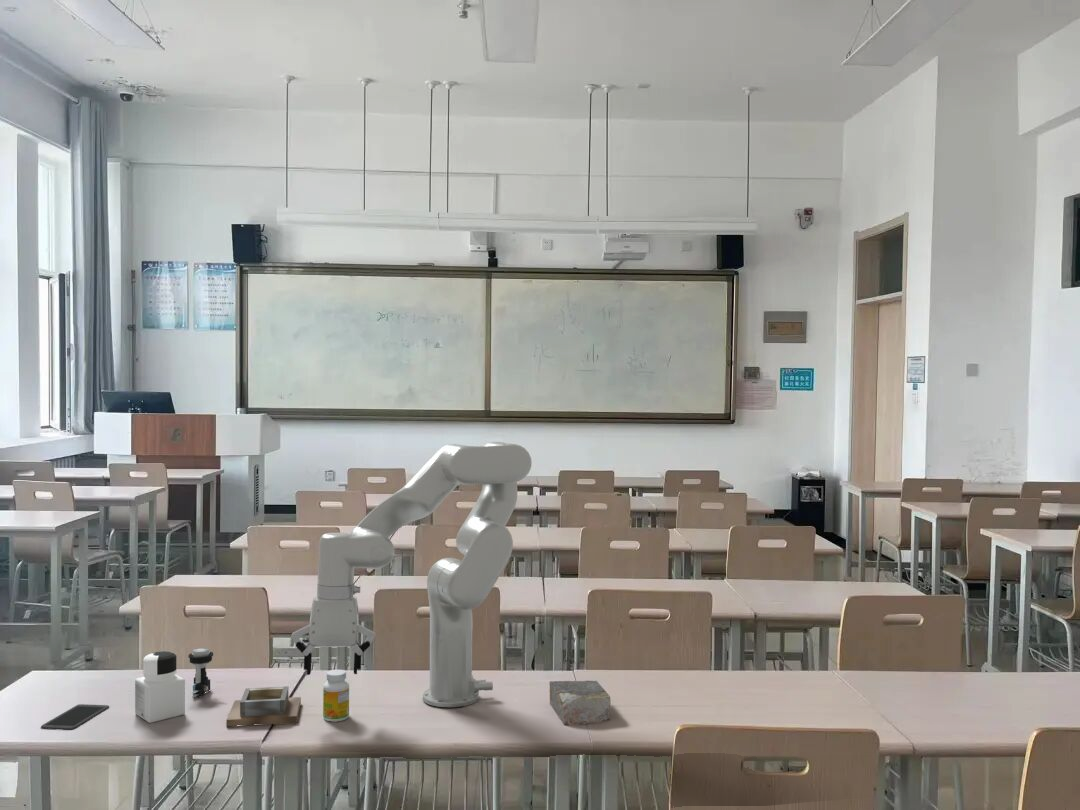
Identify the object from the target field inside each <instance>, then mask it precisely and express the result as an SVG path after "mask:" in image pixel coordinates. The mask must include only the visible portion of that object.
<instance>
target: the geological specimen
mask: <svg viewBox="0 0 1080 810" xmlns="http://www.w3.org/2000/svg"><path fill="white" fill-rule="evenodd" d="M548 691H549V705H550V706H551V708H552V709H553V710H554V712H555V714H556V715H557V716H558V719H559V720H560V721H561V723H562V724H563V726H579V725H580V726H581V725H582V726H584V725H585V726H586V725H592V724H593V725H594V724H597V723H601V722H606V721H611V715H610V709H611V696H610V694H609V693H608V692H607V691H606V690H605V688H604V687H603V686H602V684H600V683H599V681H598V680H554V681H553V680H550V681H549V690H548Z"/></svg>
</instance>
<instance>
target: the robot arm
mask: <svg viewBox="0 0 1080 810" xmlns="http://www.w3.org/2000/svg"><path fill="white" fill-rule="evenodd" d="M531 469H532V457H531V454H530V453H529V451H528V450H527V449H526V448H525V447H524V446H522V445H519V444H517V443H509V442H508V443H507V442H504V441H503V442H501V441H492V442H491V441H490V442H487V443H486V444H484V445H483V446H482V445H480V446H479V445H478V446H477V445H476V446H473V445H463V444H456V443H451V444H450V443H448V444H446V445H443V446H442V447H441V448H440V449H438V450H437V451H436V452H435V454H434V453H433V455H432V457H430V459H428V461H427V462H426V463H424V465H423V466H422V467H421V468H420V469H419V470H418V471H417V472H416V473H415V474H414V475H413V476H412V478H411V479H410V480H409V481H408V482H406V484H405V485H404V486H403V487H401V489H399V490H398V491H396V492H394V493H393V494H391V496H389V497H388V498H387V499H385V500H384V501H382V502H381V503H379V504H378V505H377V506H376V507H374V508H373V509H372V510H371V511H370V512H368V514H367V515H366V516H365V517H364V518H363V519H362V520H361V521H360V522H359V523H358V524H357V525H356V526H355V527H354V529H352V531H351V533H347V532H346V533H345V532H327V533H324V534H322V535H321V536H320V538H319V541H318V564H317V565H318V566H317V588H316V591H317V592H316V596H314V597H313V600H312V603H311V604H312V605H311V609H310V616H309V617H310V618H309V624H307V625H305V626H303V627H301V628H299V629H297V630H295V631H293V632H292V633H291V635H290V636H291V637H290V638H291V639H292V641H293V643H294V645H295V648H297V649H298V651H300V652H301V653H302V655H303V657H304V659H303V660H304V661H303V670H304V671H306V676H309V675H311V672H312V661H313V660H312V659H313V657H312V656H313V655H312V654H313V653H312V651H313V650H314V649H315V648H348V647H351V648H352V650H353V651H354V655H353V657H354V658H353V675H358V670H361V669H362V668H361V667H362V666H361V665H362V656H363V654H364V652H365V651H366V650H367V649H368V648H369V647H370V646H371V644H372V643H373V641H374V639H375V637H376V633H375V631H373V630H371V629H369V628H368V627H365V626H363V625H361V624H360V623H359V603H358V598H357V597H356V596H355V594H360V593H361V586H357V585H356V584H355V568H360V569H361V568H362V569H370V570H371V569H374V570H377V569H382V568H384V567H386V566H388V565H389V564H390V563H391V562H392V560H393V558H394V555H395V546H394V543H393V541H392V540H391V539H390V537H391V536H393V535H394V534H395V533H396V532H397V531H398V530H399V529H400V530H401V528H402V527H404V526H406V525H408V524H410V523H412V522H416V521H418V520H421V519H423V518H425V517H428V516H429V515H431V514H432V513H434V511H435V510H436V509H437V508H438V507H439V506H440V505H441V503H443V501H444V500H445V499H446V498H447V497H448V496H449V495H450V494H451V493H452V492H453V491H454V490H455V489H456V488H457V486H458V485H459V484H460V485H465V486H477V485H478V486H479V485H481V486H482V487H481V491H480V494H479V497H478V498H477V500H476V501H475V504H474V505H473V507H472V509H471V511H470V512H469V514H468V516H467V517H466V518H465V521H464V522H463V523H462V525H461V526H460V529H459V530H458V531H457V535H456V539H455V543H456V549H458V551H459V553H460V554H462V555H463V558H462V560H461V559H458V558H454V557H444V558H441V559H439V560H438V561H436V562H435V563H434V564H433V565H432V566H431V567H430V569H429V571H428V575H427V579H426V589H427V595H428V596H427V597H428V604H429V688H427V689H426V690H424V691H423V693H422V700H423V702H424V703H425V704H427V705H430V706H433V707H437V708H460V707H465V706H469V705H472V704H474V703H476V702H477V701H478V700H479V698H480V696H479V695H480V694H479V691H493V689H494V685H493V680H492V681H491V680H490V681H487V680H486V679H476V678H474V675H473V611H472V610H473V609H475V608H477V607H479V606H480V605H482V603H483V602H484V601H485V600H486V598H488V596H489V594H490V593H491V591H492V589H493V588H494V586H495V584H496V583H497V581H498V579H499V577H500V576H501V574H502V573H503V571H504V569H505V568H506V566H507V564H508V562H509V560H510V558H511V556H512V552H513V547H514V544H513V543H514V542H513V541H514V539H513V535H512V533H511V531H510V530H509V529H508V528H507V527H506V526H507V524H508V522H509V520H510V519H511V518H510V517H511V516H512V514H513V511H514V509H515V507H516V505H517V504H516V503H517V500H518V482H519V481H521V480H523V479H525V478H526V477H527V476H528V475H529V473H530V471H531ZM359 633H360V634H362V635H364V636H366V639H365V641H364V642H362V643H361V644H360V643H359V642H358V638H359ZM307 634H308V643H307V645H306V644H305V643H304V642H303V641H302V639H301V638H300V637H302V636H304V635H307Z"/></svg>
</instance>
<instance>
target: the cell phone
mask: <svg viewBox="0 0 1080 810" xmlns="http://www.w3.org/2000/svg"><path fill="white" fill-rule="evenodd" d="M109 708H110V706H109V705H107V704H85V703H82V704H81V703H80V704H77V705H75V706H73V707H72V708H69V709H67V710H66V711H64V712H62V713H61V714H59V715H57V716H56V717H53V718H52V719H50V720H48V721H46V722H45V723H43V724H42V725H41V726H40V729H42V730H56V729H63V731H72V730H75V729H77V728H79V727H81V726H83V724H86V723H87V722H88V721H91V720H92V719H94V718H95V717H97V716H98V715H101V714H102V713H103V712H104V711H106V710H108V709H109ZM93 717H94V718H93ZM80 725H81V726H80Z"/></svg>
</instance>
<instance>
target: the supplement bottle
mask: <svg viewBox="0 0 1080 810" xmlns="http://www.w3.org/2000/svg"><path fill="white" fill-rule="evenodd" d="M346 679H347V672H346V671H345V670H344V669H332V670H329V671H327V672H326V682H325V683H323V686H322V687H323V688H322V692H323V694H322V700H323V703H322V704H323V706H322V710H323V711H322V717H323V719H324V720H325V721H327V722H330V721H331V722H332V723H334V722H336V723H337V722H338V721H339V722H344V721H345V720H347V719H348V718H349V716H350V684H349V682H348V680H346Z"/></svg>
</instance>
